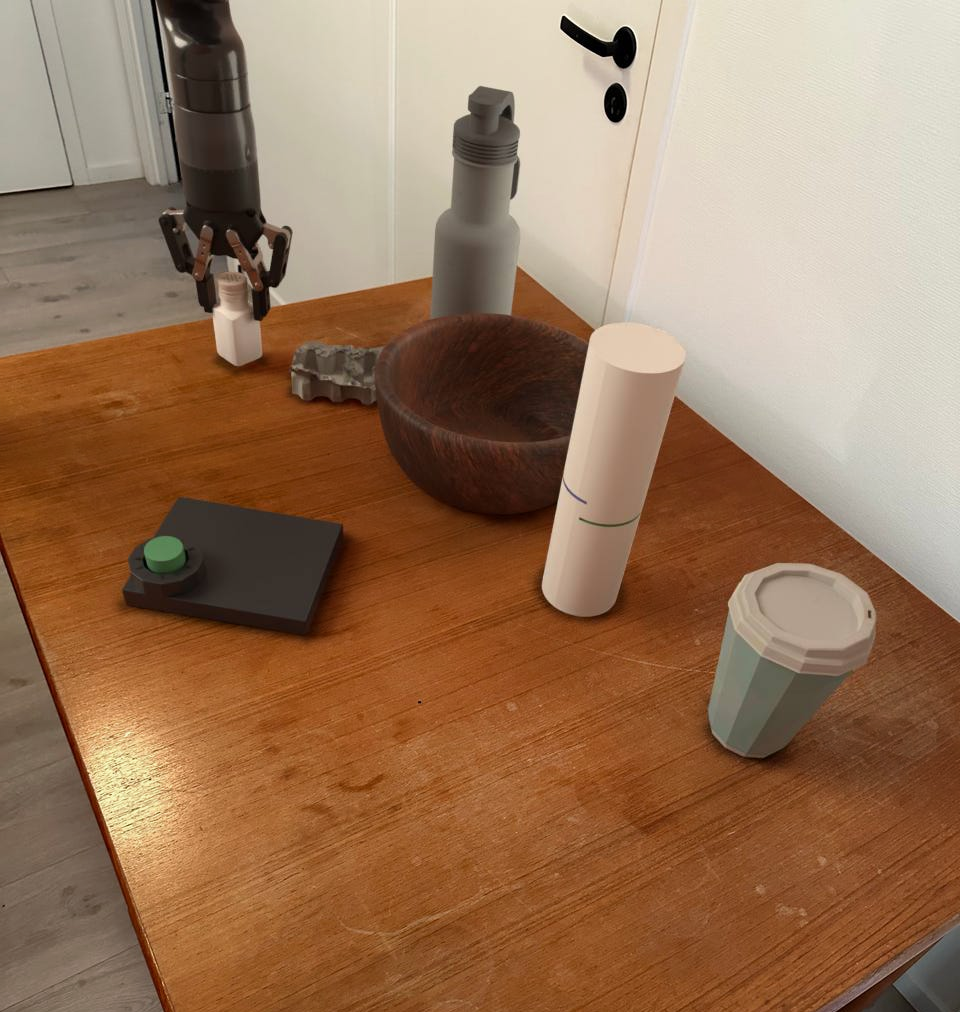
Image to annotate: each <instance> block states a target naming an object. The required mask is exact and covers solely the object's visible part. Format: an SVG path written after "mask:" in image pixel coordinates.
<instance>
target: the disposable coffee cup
mask: <svg viewBox="0 0 960 1012" xmlns="http://www.w3.org/2000/svg"><path fill="white" fill-rule="evenodd" d="M727 606H728V607H727V608H728V613H727V618H726V623H725V627H724V631H723V637H722V640H721V641H722V642H721V647H720V652H719V657H718V660H717V665H716V671H715V675H714V680H713V685H712V688H711V689H712V690H711V694H710V698H709V704H708V709H707V715H708V721H709V724H710V730H711V735H713V736H714V737H715V739H716V740H717V741H718V742H719V743H720V744H721V745H722V746H723V748H724V749H727V750H729V751H731V752H732V753H735V754H737V755H739V756H741V757H743V758H754V759H756V758H757V759H764V758H766V757H768V756H770V755H773V754H775V753H776V752H778V751H780V750H782V749H784V748H785V747H786V746H787V745H788V744H789V743H790V742H791V741H792V739H793V738H794V737H795V736H796V735H797V734H798V733H799V731H801V730H802V728H803V727H804V726H805V725H806V724H807V723H808V721H810V719H812V717H813V716H814V715H815V714H816V713H817V712H818V711H819V709H820V708H821V707H823V706H824V704H825V703H826V702H827V701H828V699H829V698H830V697H832V695H833V694H834V693H835V692H836V691H837V689H838V688H839V687H840V686H841V685H842V684H843V683H844V681H846V679H847V678H848V677H849V676H850V675H851V674H852V673H853V672H854V671H855V669H857V668H859V667H861V666H863V665H866V663H867V661H868V658H869V656H870V653H871V651H872V648H873V645H874V642H875V639H876V633H877V631H876V624H877V612H876V609H875V607H874V605H873V602H872V599H871V598H870V595H869V593H868V592H867V591H866V590H864V589H863V588H862V587H860V586H859V585H857V584H856V583H855V582H853V581H852V580H851V579H849V578H848V577H847V576H845V575H844V574H843V573H840V572H837V571H833V570H830V569H827V568H824V567H822V566H818V565H815V564H812V563H795V562H788V563H787V562H776V563H774V564H771V565H769V566H766V567H763V568H760V569H757V570H755V571H751V572H749V573H747V574H744V576H743V577H742V579H741V581H740V582H738V584H737V586H736V587H735V590H734V591H733V593H732V595H731V597H730V598H729V600H728V602H727Z"/></svg>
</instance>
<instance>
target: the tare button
mask: <svg viewBox="0 0 960 1012" xmlns="http://www.w3.org/2000/svg"><path fill="white" fill-rule="evenodd" d="M144 554H145V558H146V562H147V566H148V568H149V569H150V570H151V571H153V572H155V573H158V574H168V573H174V572H176V571H178V570H180V569H181V568H182V567H183V566H184V564H185V562H186V557H185V553H184V548H183V544H182V542H181V541H180V540H179V539H177V538H175V537H171V536H161V537H157V538H154V539H152V540H151V541H149V542H148V543H147V544H146V545H145V548H144Z"/></svg>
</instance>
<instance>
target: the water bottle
mask: <svg viewBox="0 0 960 1012" xmlns="http://www.w3.org/2000/svg"><path fill="white" fill-rule="evenodd" d="M467 99H468V100H467V111H468V112H469V114H466V115H463V116H461V117H459V118H458V119H456V120H455V121H454V123H453V131H452V132H453V133H452V146H451V147H452V150H451V156H452V157H453V166H452V168H453V169H452V185H451V198H450V199H451V200H450V207H449V208H447V209H446V210H444V211H443V212H441V214H440V215H439V217H438V218H437V220H436V223H435V226H434V227H435V228H434V245H433V259H432V260H433V262H432V278H431V279H432V280H431V298H430V299H431V300H430V319H429V320H431V319H434V318H438V317H443V316H449V315H455V314H466V313H494V314H505V315H512V309H513V300H514V293H515V292H514V291H515V285H516V284H515V283H516V277H517V268H518V259H519V253H520V252H519V251H520V244H521V229H520V226H519V224H518V222H517V221H516V219H515V218H514V217H513V216H512V215H511V214H510V207H511V206H510V204H511V200H513V199H514V198H515V197H516V195H517V194H518V193H517V192H518V187H519V179H520V171H521V170H520V169H521V160H520V159H521V158H520V157H519V156H518V148H519V140H520V138H521V130H520V128H519V126H518V125H517V124H515V123H514V122H515V113H516V112H515V111H516V107H515V106H516V103H515V95H514V93H513V91H509V90H505V89H498V88H493V87H489V86H483V85H479V86H478V87H476V89H475V90H473V92H472V93H470V94H469V95H468V98H467Z"/></svg>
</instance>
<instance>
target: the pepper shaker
mask: <svg viewBox="0 0 960 1012" xmlns="http://www.w3.org/2000/svg"><path fill="white" fill-rule="evenodd" d="M216 283H217V292H218V293H217V294H218V297H219V301H217V303H216V304H214V306H213V307H212V313H211V314H212V321H213V322H212V323H213V329H214V337H215V345H216V352H217V354H218V355H219V356H220V357H221V358H223V359H224V360H225V361H227V362H228V363H230V364H232V365H233V366H235V367H242V366H244V365H246V364H248V363H252V362H254V361H256V360H258V359H260V358H261V357H262V356H263V345H262V333H261V332H262V331H261V321H256V320H254V313H253V302H251V301H249V285H248V276H246V275H245V274H244V273H242V272H239V271H230V270H229V271H224V272H222V273H219V274H218V275H217V278H216Z"/></svg>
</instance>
